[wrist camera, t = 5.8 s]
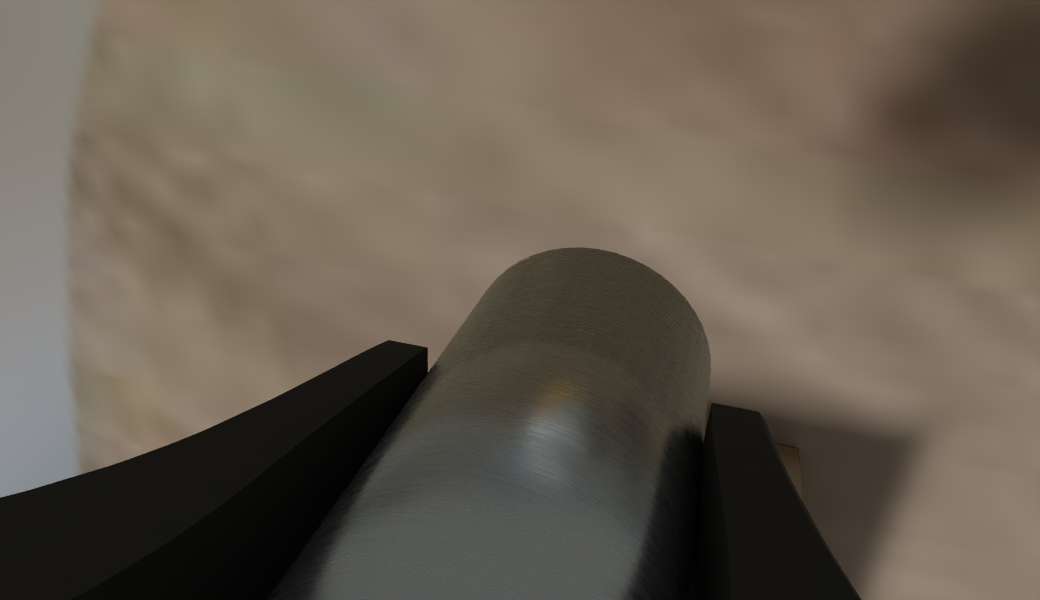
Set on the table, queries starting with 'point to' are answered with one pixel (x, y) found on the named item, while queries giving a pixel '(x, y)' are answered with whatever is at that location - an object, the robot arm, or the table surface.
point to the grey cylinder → (534, 451)
